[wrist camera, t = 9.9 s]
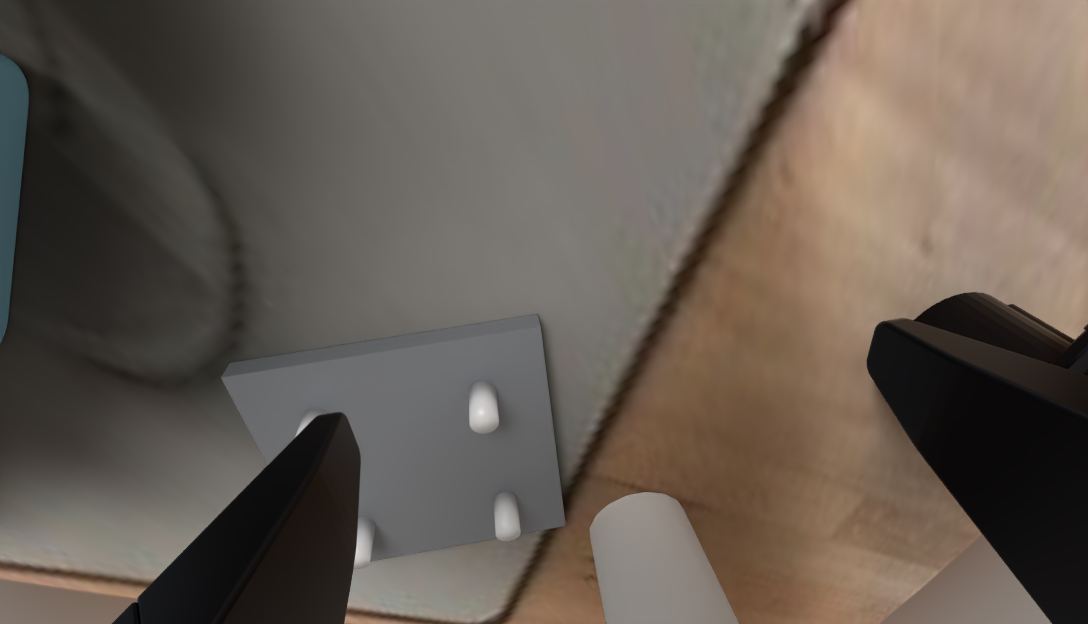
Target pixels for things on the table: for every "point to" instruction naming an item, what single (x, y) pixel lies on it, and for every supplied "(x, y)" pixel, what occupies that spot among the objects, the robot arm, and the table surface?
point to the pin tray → (424, 430)
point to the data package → (10, 171)
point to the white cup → (654, 565)
